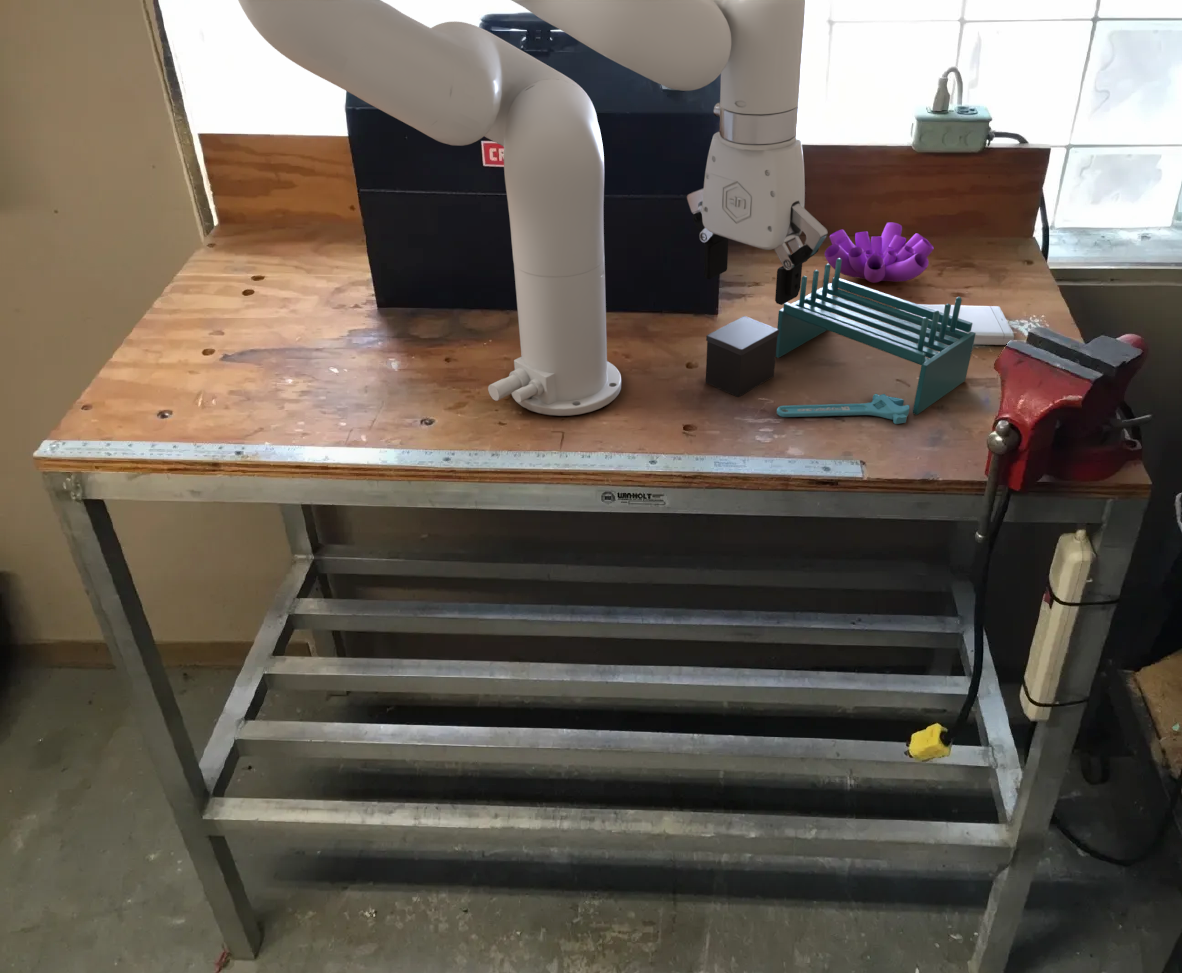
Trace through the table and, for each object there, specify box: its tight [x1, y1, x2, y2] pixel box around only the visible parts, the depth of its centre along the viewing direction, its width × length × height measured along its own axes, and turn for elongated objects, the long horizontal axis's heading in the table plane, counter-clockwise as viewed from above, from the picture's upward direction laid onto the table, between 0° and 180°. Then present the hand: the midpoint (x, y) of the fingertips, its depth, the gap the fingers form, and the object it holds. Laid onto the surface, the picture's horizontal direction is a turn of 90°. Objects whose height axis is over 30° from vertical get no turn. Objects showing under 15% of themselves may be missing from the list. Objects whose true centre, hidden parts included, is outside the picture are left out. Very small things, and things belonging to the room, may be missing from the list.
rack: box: [776, 258, 976, 416], centre depth 111 cm, size 10×19×10 cm, turn 43°
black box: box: [705, 315, 779, 398], centre depth 111 cm, size 7×5×6 cm
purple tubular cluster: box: [824, 222, 934, 284], centre depth 131 cm, size 11×15×10 cm
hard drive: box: [896, 303, 1015, 346], centre depth 120 cm, size 2×8×12 cm
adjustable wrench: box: [776, 393, 911, 425], centre depth 105 cm, size 14×1×5 cm
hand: (750, 286), depth 106 cm, fingers open, 9 cm apart
